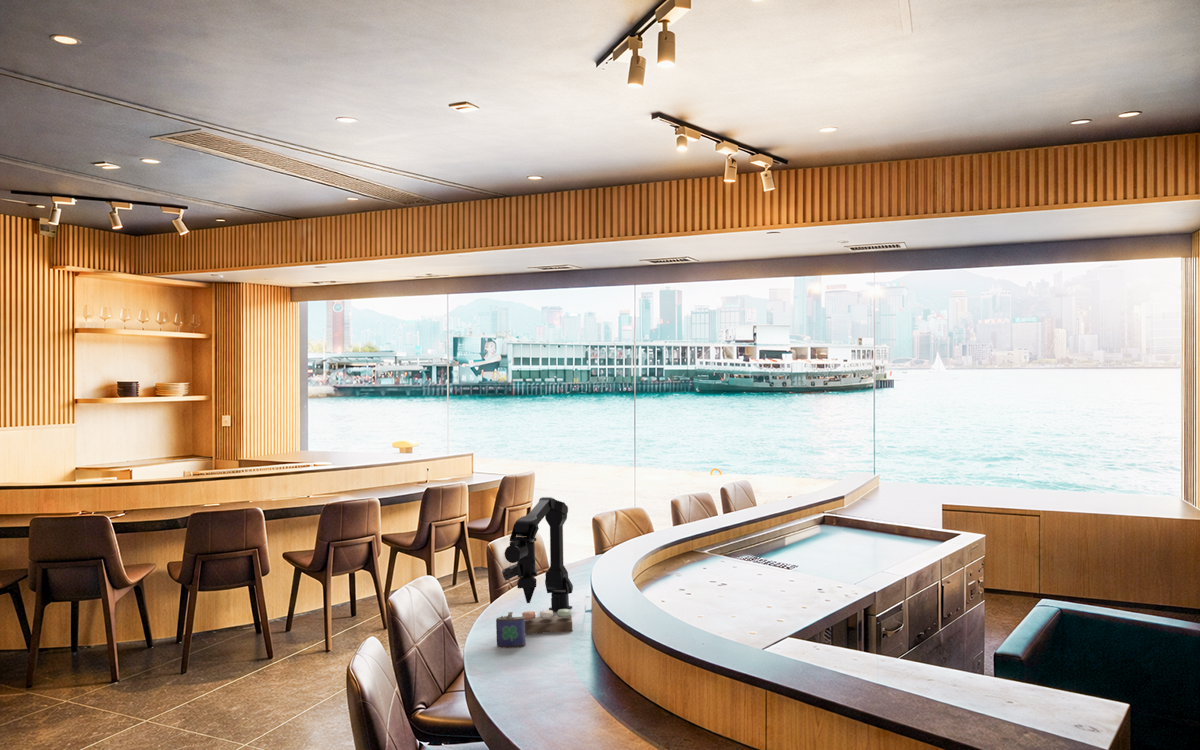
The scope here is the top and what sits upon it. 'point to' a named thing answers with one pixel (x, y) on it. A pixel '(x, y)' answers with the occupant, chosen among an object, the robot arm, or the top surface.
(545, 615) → the button cream
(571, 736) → the top surface
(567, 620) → the console
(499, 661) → the top surface
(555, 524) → the robot arm
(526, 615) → the button terracotta
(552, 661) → the top surface
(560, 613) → the button sage
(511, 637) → the flask
